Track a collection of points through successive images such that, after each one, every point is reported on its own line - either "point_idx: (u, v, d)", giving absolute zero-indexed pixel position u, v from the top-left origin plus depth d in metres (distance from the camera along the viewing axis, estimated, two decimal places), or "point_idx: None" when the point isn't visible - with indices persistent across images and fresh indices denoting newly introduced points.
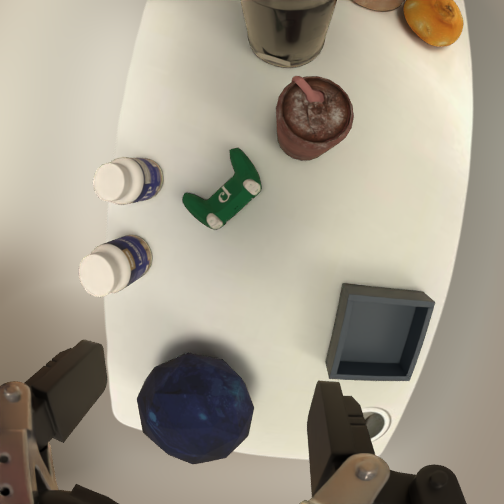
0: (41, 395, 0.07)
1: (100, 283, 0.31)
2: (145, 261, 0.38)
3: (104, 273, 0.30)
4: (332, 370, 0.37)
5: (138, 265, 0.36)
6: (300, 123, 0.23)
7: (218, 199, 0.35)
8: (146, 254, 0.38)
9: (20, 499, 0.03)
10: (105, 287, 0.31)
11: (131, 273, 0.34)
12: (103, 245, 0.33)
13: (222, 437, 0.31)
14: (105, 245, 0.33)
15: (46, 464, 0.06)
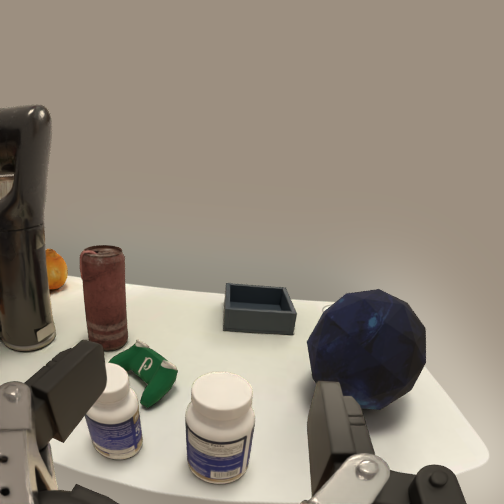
0: (41, 395, 0.07)
1: (231, 384, 0.23)
2: None
3: (216, 379, 0.24)
4: (288, 312, 0.51)
5: None
6: (108, 255, 0.38)
7: (149, 368, 0.35)
8: None
9: (20, 499, 0.03)
10: (236, 379, 0.24)
11: None
12: (186, 414, 0.23)
13: None
14: (186, 412, 0.23)
15: (46, 464, 0.06)
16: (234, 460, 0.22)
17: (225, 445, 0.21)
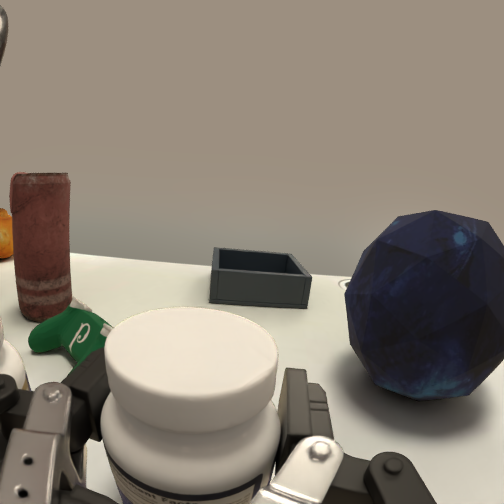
0: (80, 395, 0.08)
1: (217, 331, 0.09)
2: None
3: (178, 320, 0.09)
4: (301, 275, 0.37)
5: None
6: None
7: (84, 340, 0.20)
8: None
9: (20, 499, 0.03)
10: (230, 322, 0.09)
11: None
12: (102, 413, 0.08)
13: None
14: (103, 407, 0.08)
15: (78, 467, 0.06)
16: None
17: None
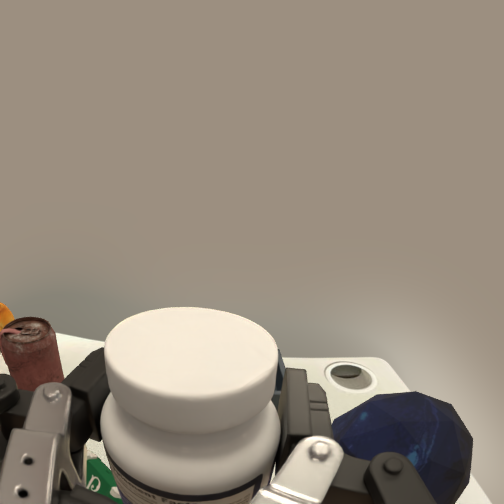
0: (80, 395, 0.08)
1: (217, 331, 0.09)
2: None
3: (178, 320, 0.09)
4: None
5: None
6: (31, 338, 0.23)
7: (97, 491, 0.19)
8: None
9: (20, 499, 0.03)
10: (230, 322, 0.09)
11: None
12: (102, 413, 0.08)
13: (382, 396, 0.24)
14: (103, 407, 0.08)
15: (78, 467, 0.06)
16: None
17: None
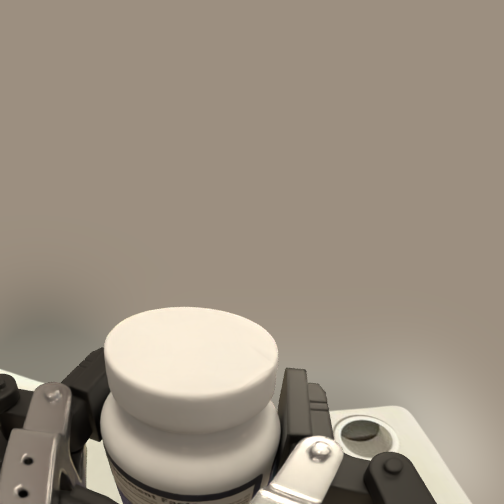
0: (80, 395, 0.08)
1: (217, 331, 0.09)
2: None
3: (178, 320, 0.09)
4: None
5: None
6: None
7: None
8: None
9: (20, 499, 0.03)
10: (230, 322, 0.09)
11: None
12: (102, 413, 0.08)
13: None
14: (103, 407, 0.08)
15: (78, 467, 0.06)
16: None
17: None
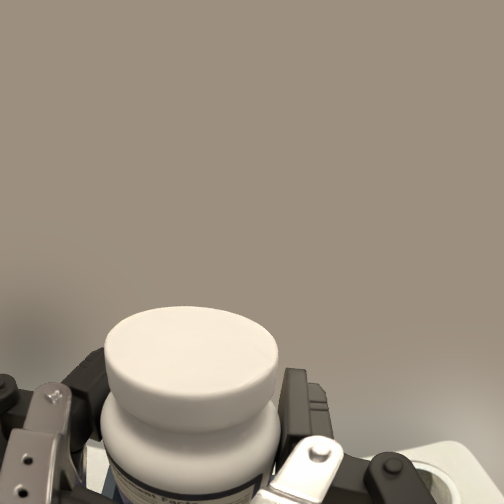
0: (80, 395, 0.08)
1: (217, 330, 0.09)
2: None
3: (178, 319, 0.09)
4: None
5: None
6: None
7: None
8: None
9: (20, 499, 0.03)
10: (230, 322, 0.09)
11: None
12: (102, 413, 0.08)
13: None
14: (103, 406, 0.08)
15: (78, 467, 0.06)
16: None
17: None
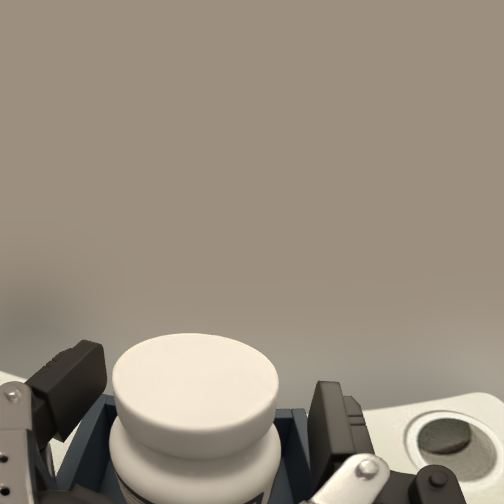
0: (41, 395, 0.07)
1: (220, 360, 0.09)
2: None
3: (182, 348, 0.09)
4: None
5: None
6: None
7: None
8: None
9: (20, 499, 0.03)
10: (232, 350, 0.10)
11: None
12: (110, 436, 0.08)
13: None
14: (111, 429, 0.08)
15: (46, 464, 0.06)
16: None
17: None
